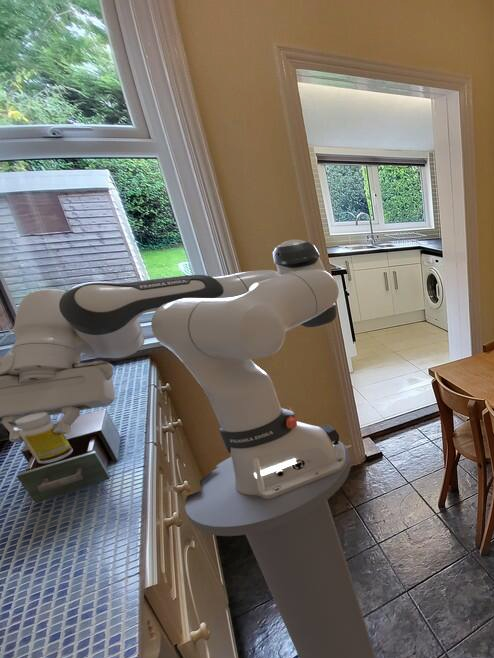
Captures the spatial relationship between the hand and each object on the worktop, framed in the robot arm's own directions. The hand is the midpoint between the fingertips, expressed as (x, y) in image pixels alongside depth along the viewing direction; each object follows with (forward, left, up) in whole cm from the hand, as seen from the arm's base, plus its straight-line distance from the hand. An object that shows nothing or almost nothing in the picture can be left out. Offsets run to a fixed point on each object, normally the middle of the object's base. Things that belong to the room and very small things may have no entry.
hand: (40, 437), depth 73 cm
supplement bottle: (0, -1, -5) cm, 5 cm away
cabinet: (+8, -26, -17) cm, 32 cm away
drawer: (+5, -13, -16) cm, 22 cm away
